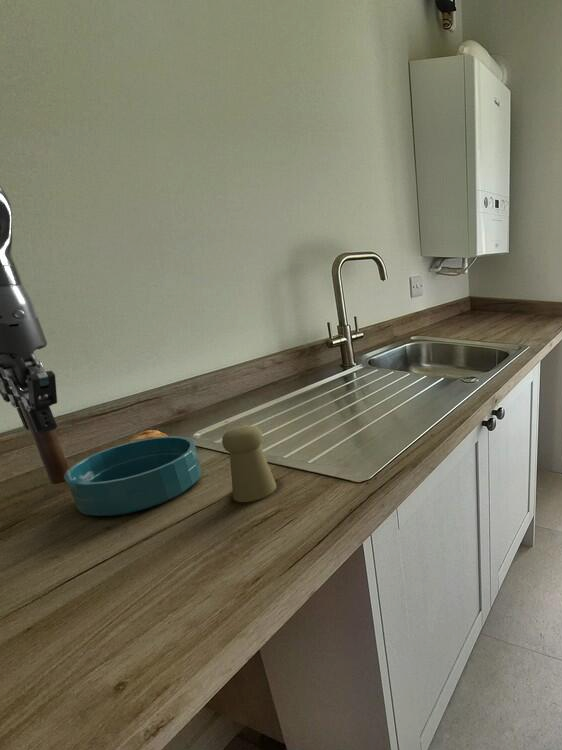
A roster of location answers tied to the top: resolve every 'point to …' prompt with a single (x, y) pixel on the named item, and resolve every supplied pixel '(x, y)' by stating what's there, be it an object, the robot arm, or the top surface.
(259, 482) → the cork
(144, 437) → the pastry
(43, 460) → the stirring stick
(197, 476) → the bowl
